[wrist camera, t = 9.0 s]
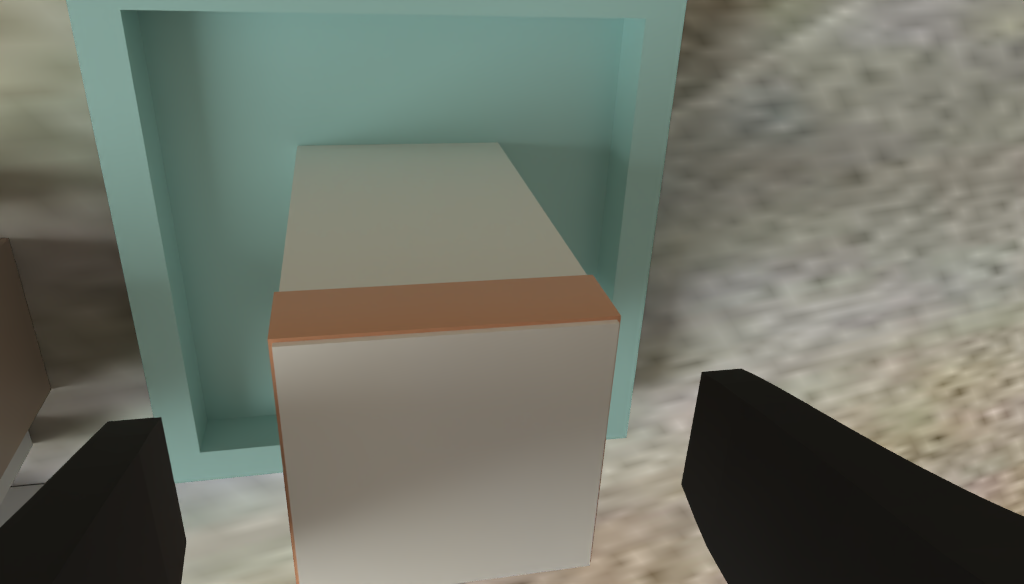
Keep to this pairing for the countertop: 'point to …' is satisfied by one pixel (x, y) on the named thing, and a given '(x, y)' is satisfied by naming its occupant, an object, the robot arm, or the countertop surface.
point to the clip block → (6, 499)
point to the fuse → (17, 361)
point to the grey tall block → (435, 370)
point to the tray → (351, 121)
